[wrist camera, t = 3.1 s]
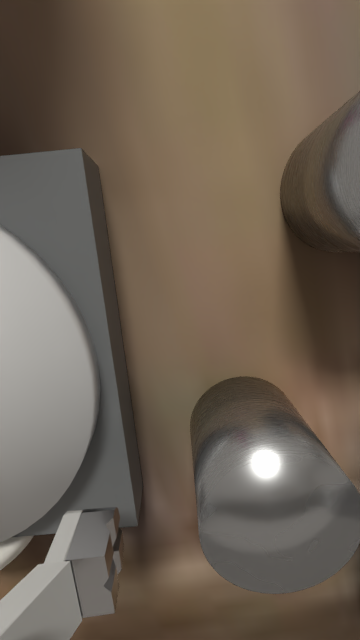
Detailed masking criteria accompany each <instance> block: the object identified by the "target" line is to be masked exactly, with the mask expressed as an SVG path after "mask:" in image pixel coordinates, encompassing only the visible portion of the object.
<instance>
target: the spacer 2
mask: <svg viewBox="0 0 360 640" xmlns="http://www.w3.org/2000/svg"><path fill="white" fill-rule="evenodd" d="M280 199H281V206H282V211H283V214H284V217H285V219H286V221H287V223H288V225H289V227H290V228H291V230H292V231H293V233H294V234H295V235H296V236H297V237H298V238H299V239H300V240H302V241H303V242H304V243H306V244H308V245H309V246H311V247H313V248H316V249H318V250H322V251H328V252H360V91H359V92H358V93H357V94H356V95H354V96H353V97H352V98H351V99H350V100H349V101H347V102H346V103H345V104H344V105H343V106H342V107H340V108H339V109H338V110H337V111H336V112H335V113H333V114H332V115H331V116H330V117H329V118H328V119H326V120H325V121H324V122H323V123H322V124H321V125H319V126H318V127H317V128H316V129H315V130H314V131H312V132H311V133H310V134H309V135H308V136H307V137H306V138H304V139H303V140H302V141H301V143H300V144H299V145H298V146H297V147H296V149H295V150H294V151H293V153H292V154H291V156H290V158H289V160H288V162H287V164H286V166H285V169H284V172H283V176H282V180H281V187H280Z"/></svg>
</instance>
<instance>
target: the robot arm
mask: <svg viewBox="0 0 360 640" xmlns="http://www.w3.org/2000/svg"><path fill="white" fill-rule="evenodd" d="M119 521H120V515H119V510H118V508H117V507H109V508H96V509H84V510H76V511H67V512H66V513H65V514H64V515H63V518H62V520H61V522H60V525H59V527H58V530H57V532H56V535H55V537H54V539H53V542H52V544H51V547H50V549H49V552H48V554H47V556H46V559H45V561H44V564H38V565H37V566H36V567H35V568H34V569H33V570H32V571H31V572H30V573H29V574H28V575H27V576H25V577H24V578H23V579H22V580H21V581H20V582H19V583H18V584H17V585H16V586H15V587H14V588H13V589H12V590H11V591H10V592H9V593H8V594H7V595H6V596H5V597H4V598H3V599H1V600H0V640H70V638H71V637H72V635H73V634H74V632H75V631H76V629H77V628H78V626H79V625H80V623H81V622H82V618H85V617H92V616H99V615H106V614H113V613H115V609H116V603H117V597H118V590H119V582H118V576H117V575H118V573H119V572H120V571H121V570H122V564H123V552H124V543H123V533H122V530H121V529H120V528H119Z"/></svg>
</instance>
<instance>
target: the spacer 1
mask: <svg viewBox="0 0 360 640" xmlns="http://www.w3.org/2000/svg"><path fill="white" fill-rule="evenodd" d="M190 432H191V444H192V456H193V468H194V479H195V491H196V503H197V515H198V527H199V538H200V543H201V547H202V550H203V553H204V555H205V557H206V559H207V560H208V562H209V563H210V565H211V566H212V567H213V569H214V570H215V571H216V572H217V573H218V574H219V575H221V576H222V577H223V578H225V579H226V580H227V581H229V582H231V583H233V584H234V585H236V586H239V587H241V588H244V589H247V590H250V591H254V592H260V593H269V594H281V593H290V592H296V591H300V590H304V589H307V588H309V587H312V586H315V585H317V584H319V583H321V582H323V581H325V580H326V579H328V578H330V577H331V576H333V575H334V574H335V573H336V572H338V571H339V570H340V569H341V568H342V567H343V566H344V565H345V564H346V563H347V562H348V561H349V560H350V558H351V557H352V556H353V554H354V553H355V551H356V549H357V548H358V545H359V543H360V495H359V493H358V491H357V490H356V488H355V486H354V485H353V484H352V482H351V481H350V480H349V478H348V477H347V476H346V474H345V473H344V472H343V470H342V469H341V468H340V467H339V465H338V464H337V463H336V461H335V460H334V459H333V457H332V456H331V455H330V453H329V452H328V451H327V449H326V448H325V447H324V445H323V444H322V443H321V441H320V440H319V439H318V437H317V436H316V435H315V434H314V432H313V431H312V430H311V428H310V427H309V426H308V424H307V423H306V422H305V420H304V419H303V418H302V416H301V415H300V414H299V412H298V411H297V410H296V408H295V407H294V406H293V404H292V403H291V402H290V401H289V399H288V398H287V397H286V395H285V394H284V393H283V392H282V391H281V390H280V389H279V388H278V387H276V386H275V385H274V384H272V383H270V382H268V381H266V380H263V379H260V378H255V377H235V378H230V379H227V380H224V381H222V382H219V383H218V384H216V385H214V386H213V387H211V388H210V389H209V390H207V391H206V392H205V393H204V394H203V395H202V396H201V398H200V399H199V400H198V402H197V404H196V405H195V407H194V410H193V412H192V416H191V422H190Z"/></svg>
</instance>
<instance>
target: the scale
mask: <svg viewBox="0 0 360 640" xmlns="http://www.w3.org/2000/svg"><path fill="white" fill-rule="evenodd" d="M142 491H143V482H142V475H141V468H140V461H139V454H138V447H137V439H136V432H135V425H134V418H133V411H132V404H131V397H130V390H129V382H128V375H127V368H126V361H125V354H124V347H123V340H122V333H121V325H120V318H119V311H118V304H117V297H116V290H115V283H114V276H113V268H112V261H111V254H110V247H109V240H108V233H107V226H106V219H105V211H104V204H103V197H102V190H101V183H100V176H99V169H98V166H97V165H96V164H95V162H94V161H93V160H92V159H91V158H90V157H89V156H88V155H87V154H86V153H85V152H84V151H83V150H82V148H77V149H67V150H56V151H46V152H36V153H26V154H16V155H6V156H0V570H1V569H3V568H4V567H5V566H7V565H8V564H9V563H10V562H11V561H12V560H14V559H15V558H16V557H17V556H18V555H19V554H20V553H21V552H22V551H23V550H24V548H25V547H26V546H27V545H28V543H29V542H30V541H31V539H32V538H33V536H34V535H45V534H56V532H57V530H58V527H59V525H60V522H61V520H62V518H63V515H64V514H65V513H66V512H67V511H76V510H84V509H96V508H109V507H117V508H118V510H119V515H120V521H119V528H122V527H133V526H138V521H139V513H140V506H141V498H142Z"/></svg>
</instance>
